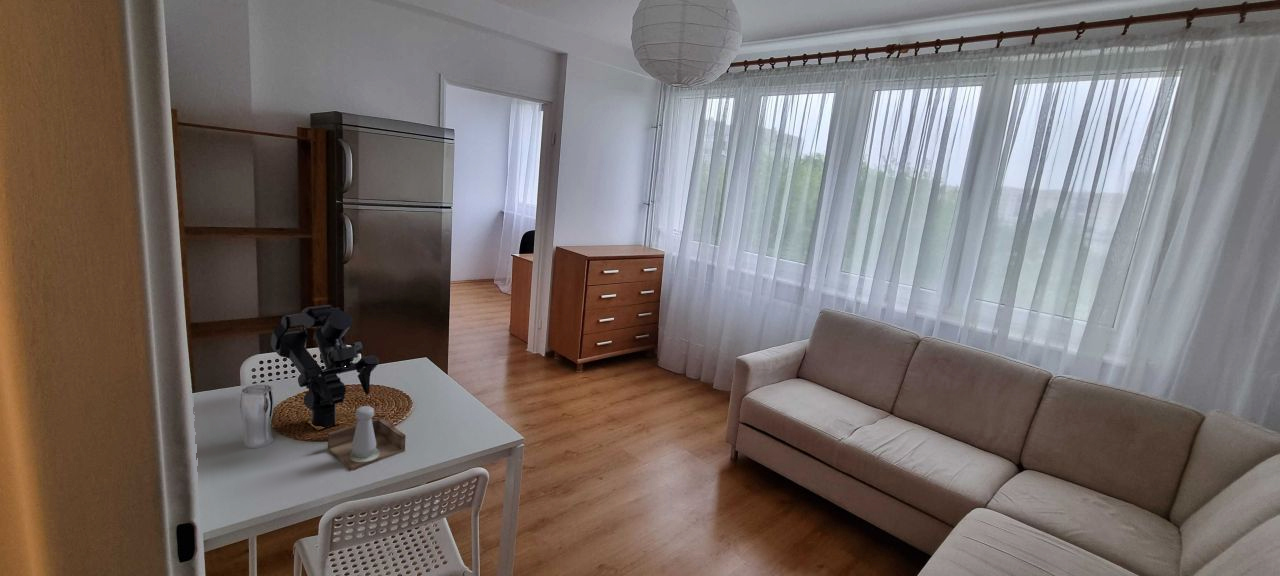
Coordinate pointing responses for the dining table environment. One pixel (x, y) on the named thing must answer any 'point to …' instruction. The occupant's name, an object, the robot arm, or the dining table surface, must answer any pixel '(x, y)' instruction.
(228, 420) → the dining table surface
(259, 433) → the beer glass
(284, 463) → the dining table surface
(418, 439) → the dining table surface
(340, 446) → the corner tray
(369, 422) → the salt shaker
